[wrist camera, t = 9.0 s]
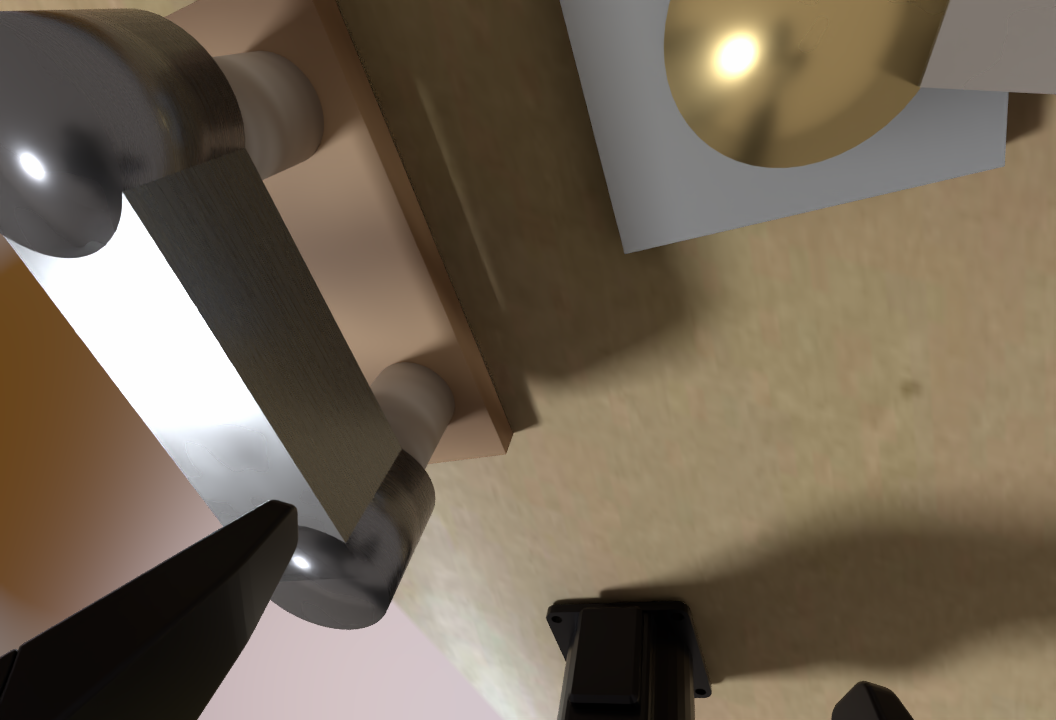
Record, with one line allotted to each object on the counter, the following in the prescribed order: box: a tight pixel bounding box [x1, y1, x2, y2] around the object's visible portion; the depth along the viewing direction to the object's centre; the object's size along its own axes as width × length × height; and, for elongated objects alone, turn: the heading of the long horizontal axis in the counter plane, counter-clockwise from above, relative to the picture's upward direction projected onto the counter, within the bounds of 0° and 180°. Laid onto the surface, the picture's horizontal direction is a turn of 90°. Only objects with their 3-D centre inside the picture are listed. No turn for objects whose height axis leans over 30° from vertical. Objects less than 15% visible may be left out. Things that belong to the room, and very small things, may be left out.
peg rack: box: [164, 0, 513, 470], centre depth 18 cm, size 16×5×5 cm, turn 19°
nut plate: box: [560, 0, 1009, 254], centre depth 14 cm, size 9×9×1 cm
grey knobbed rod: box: [0, 9, 435, 630], centre depth 14 cm, size 15×4×4 cm, turn 18°
